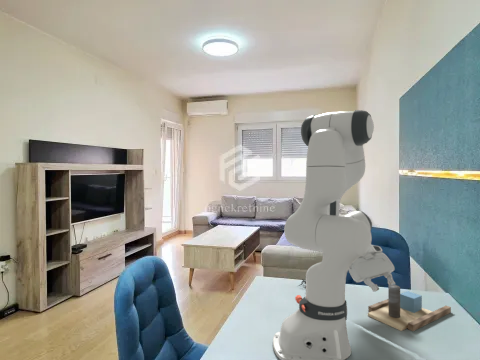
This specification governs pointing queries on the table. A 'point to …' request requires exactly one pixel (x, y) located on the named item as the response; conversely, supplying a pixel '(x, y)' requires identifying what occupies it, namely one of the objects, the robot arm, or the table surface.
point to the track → (420, 321)
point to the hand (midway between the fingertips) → (385, 287)
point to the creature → (302, 282)
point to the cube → (411, 301)
